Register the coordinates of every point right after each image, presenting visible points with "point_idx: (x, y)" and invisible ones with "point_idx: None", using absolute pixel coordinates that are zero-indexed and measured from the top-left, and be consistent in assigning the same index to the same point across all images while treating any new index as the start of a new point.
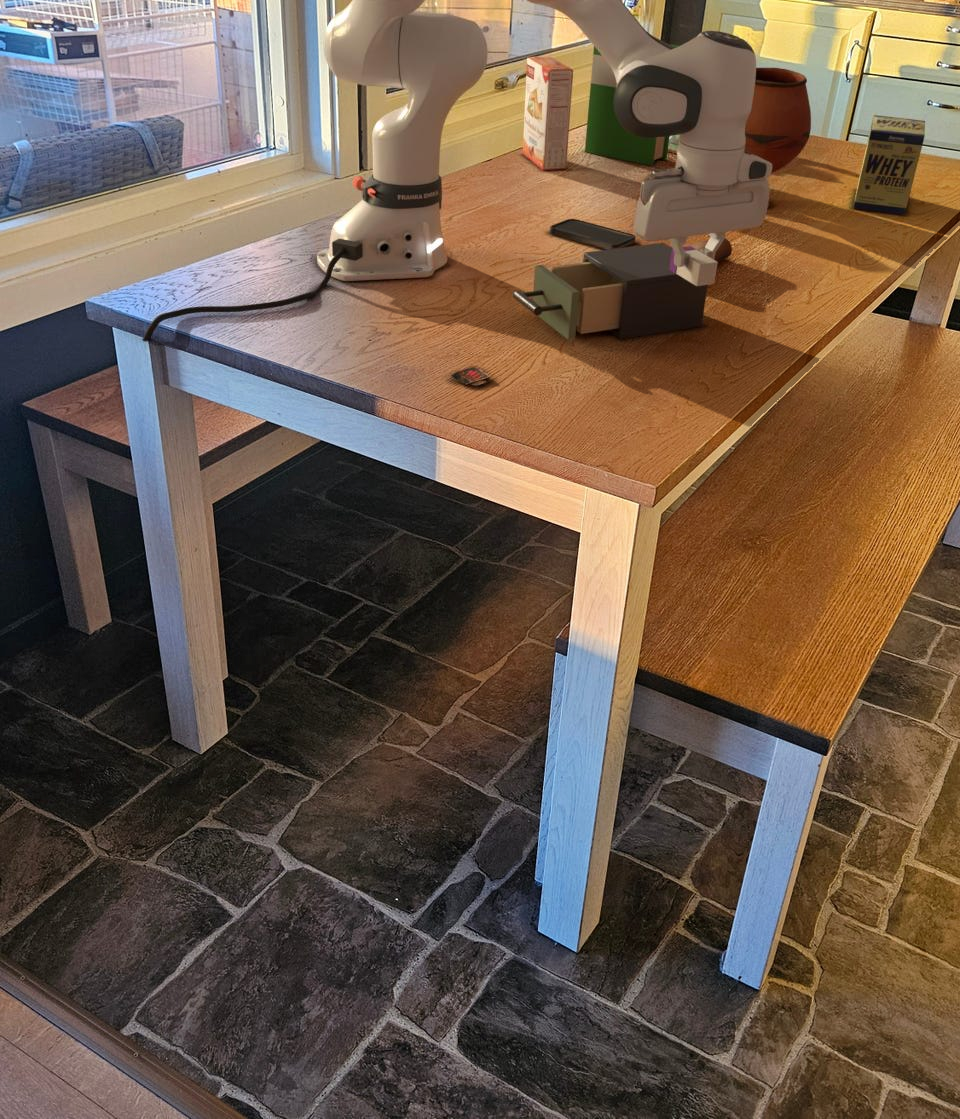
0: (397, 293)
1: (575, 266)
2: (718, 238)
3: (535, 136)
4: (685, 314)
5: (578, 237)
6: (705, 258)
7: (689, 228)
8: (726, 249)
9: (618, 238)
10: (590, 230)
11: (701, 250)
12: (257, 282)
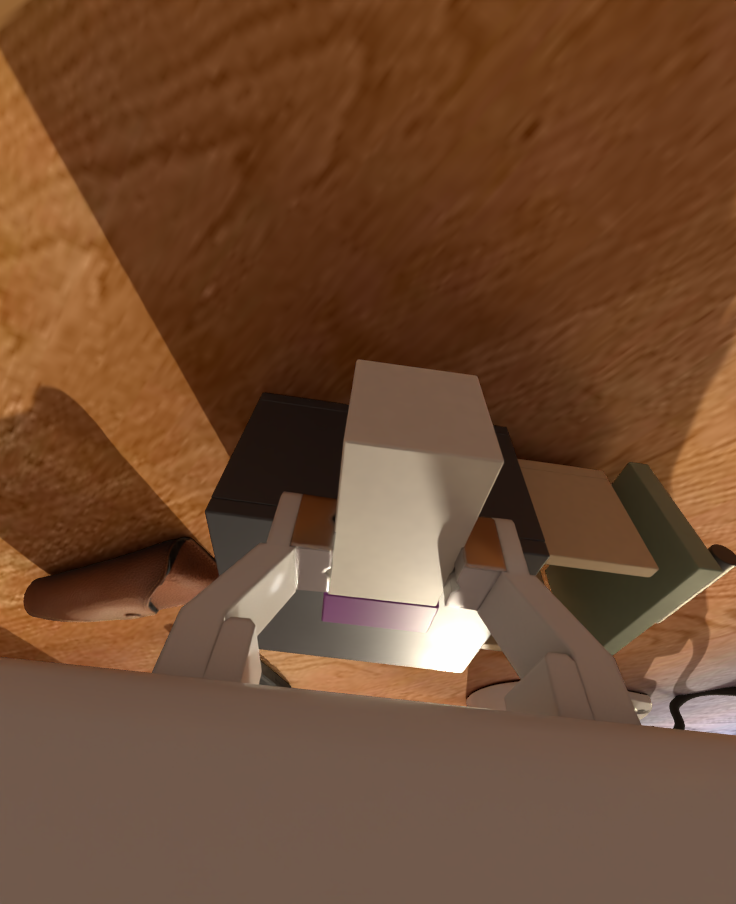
0: (633, 663)
1: None
2: (237, 625)
3: None
4: (312, 425)
5: (268, 674)
6: (377, 510)
7: (648, 832)
8: (40, 591)
9: None
10: None
11: (330, 578)
12: (725, 717)
